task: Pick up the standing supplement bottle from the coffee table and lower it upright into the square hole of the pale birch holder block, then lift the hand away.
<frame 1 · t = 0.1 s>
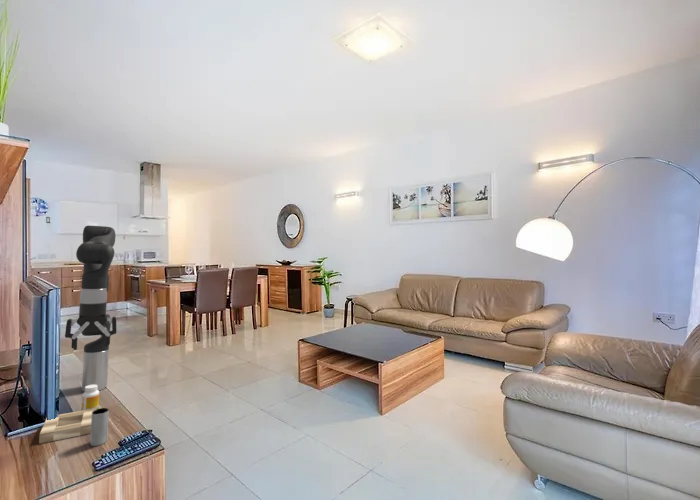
hand: (90, 348, 120), 29 cm above the table, tool pointing down, fingers open, 8 cm apart
supplement bottle: (90, 411, 135), on the table
planter: (98, 443, 114), on the table
holder: (69, 428, 122), on the table
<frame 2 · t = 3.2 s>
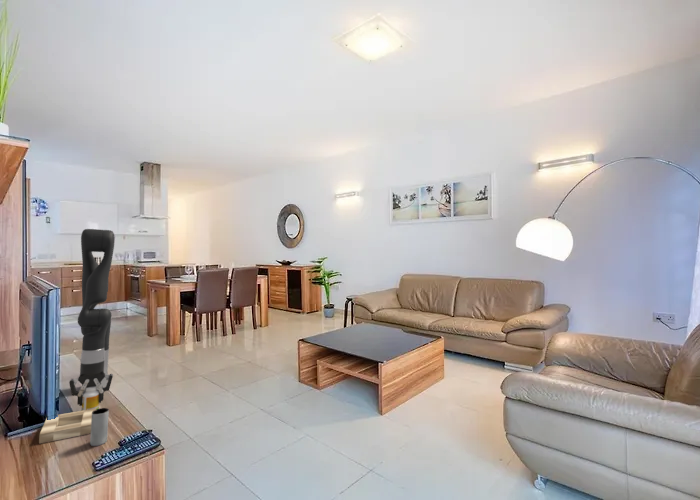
hand: (90, 403, 135), 3 cm above the table, tool pointing down, fingers closed on supplement bottle, 5 cm apart
supplement bottle: (90, 411, 135), on the table, touching gripper
everything else where it was.
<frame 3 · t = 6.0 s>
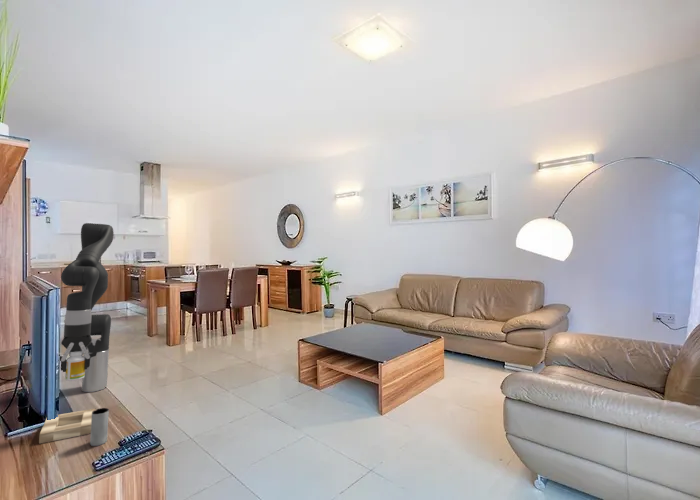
hand: (75, 369, 123), 20 cm above the table, tool pointing down, fingers closed on supplement bottle, 5 cm apart
supplement bottle: (74, 379, 123), point 17 cm above the table, touching gripper
everything else where it was.
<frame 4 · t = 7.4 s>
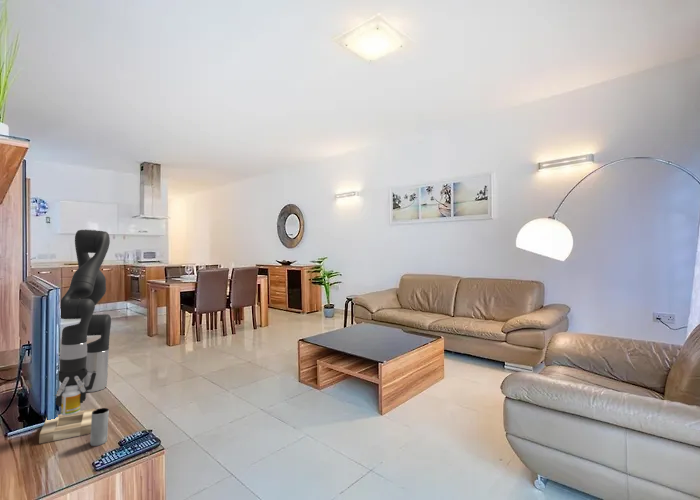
hand: (70, 403, 122), 9 cm above the table, tool pointing down, fingers closed on supplement bottle, 5 cm apart
supplement bottle: (70, 413, 122), point 6 cm above the table, touching gripper
everything else where it was.
when the fingers open (4 cm above the table, at t = 8.8 s): supplement bottle drops 1 cm, resting in holder.
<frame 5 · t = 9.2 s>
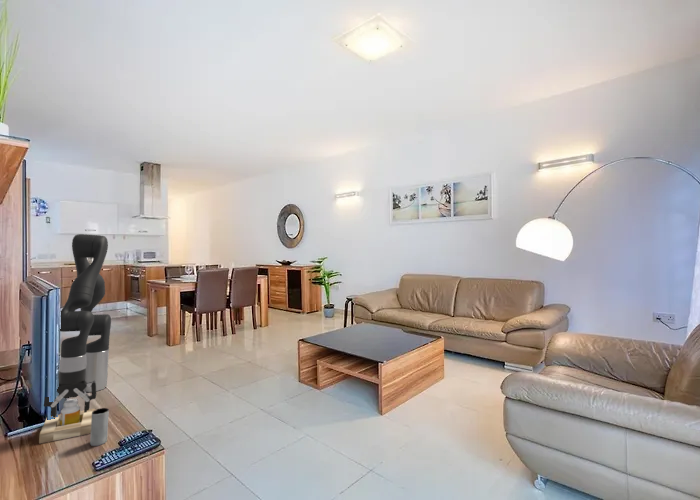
hand: (70, 414, 122), 5 cm above the table, tool pointing down, fingers open, 8 cm apart
supplement bottle: (69, 429, 122), resting in holder
everything else where it was.
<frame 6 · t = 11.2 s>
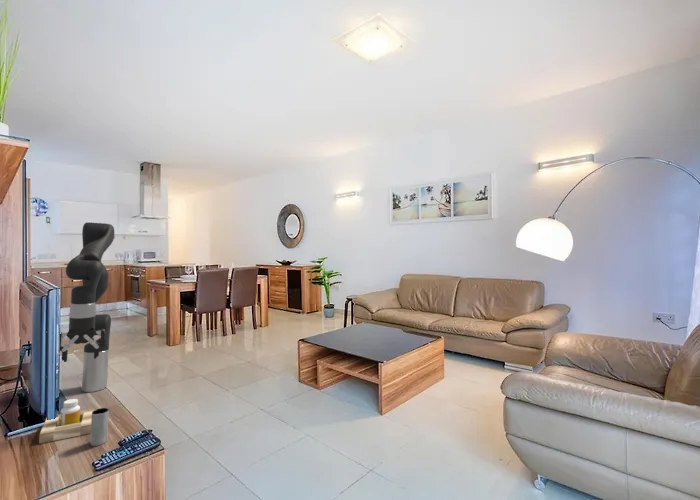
hand: (80, 359, 126), 23 cm above the table, tool pointing down, fingers open, 8 cm apart
nothing on the table moved.
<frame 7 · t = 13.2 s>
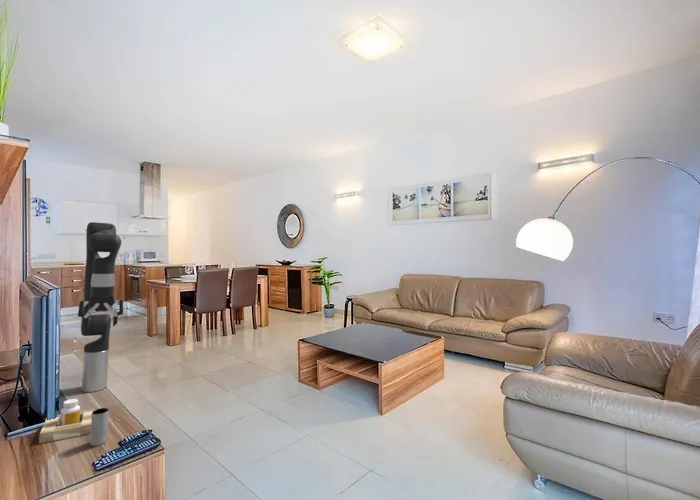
hand: (100, 326, 135), 33 cm above the table, tool pointing down, fingers open, 8 cm apart
nothing on the table moved.
at the end: supplement bottle 0.1 cm off-centre on the holder, point 0.0 cm above the holder's base; supplement bottle tilted 0°; the gripper is holding nothing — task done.
